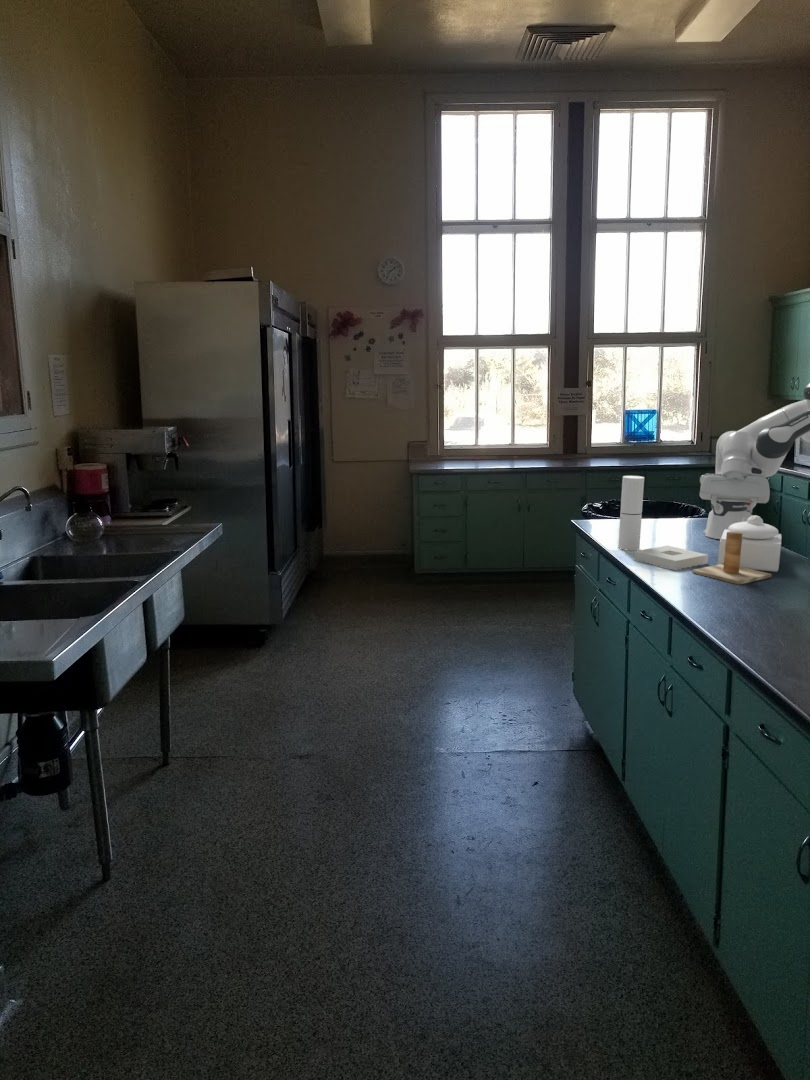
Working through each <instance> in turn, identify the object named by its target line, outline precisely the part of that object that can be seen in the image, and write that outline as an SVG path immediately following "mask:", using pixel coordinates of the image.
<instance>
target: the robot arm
mask: <svg viewBox="0 0 810 1080" xmlns="http://www.w3.org/2000/svg"><path fill="white" fill-rule="evenodd" d="M802 392H803V398H804V399H803V400H799V401H797V402H793V403H790V404H787V405H785V406H783V407H780V408H779V409H777V410H774V411H773V412H770V413H769V414H766V415H764V416H761V417H759V418H758V419H757V420H755V421H753V422H751V423H750V424H748V425H746V426H744V427H743V428H740V429H738V430H730V431H729V430H728V431H725V432H724V433H722V434H721V435H720V436H719V438H718V439H717V442H716V446H715V473H704V474H702V475H700V477H699V483H700V488H699V489H700V490H699V498H701V500H708V501H710V504H711V511H709V513H708V518H707V522H706V528H705V529H704V530H703V534H705V536H706V537H707V538H711V539H714V540H715V539H716V540H720V539H721V537H722V534H723V532H724V529H728V528H729V526H730V525H732V524H734V523H738V522H747V520H748V518H749V517H751V516H753V509H754V508H755V507H756V505H757V504H767V503H768V502H769V500H770V494H771V489H770V482H769V480H768V479H767V478H770V477H773V476H774V475H776V474H777V473H778V471H779V469H780V467H781V465H782V463H783V462H784V460H785V459H786V456H787V454H788V453H789V451H790V450H791V448H792V447H793V445H794V442H795V441H796V440H798V439H800V438H801V439H802V440H803V441H805V442H807V443H810V382H809V383H808V384H807V385H805V386H804V389H803V390H802Z"/></svg>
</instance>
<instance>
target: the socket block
mask: <svg viewBox="0 0 810 1080" xmlns="http://www.w3.org/2000/svg"><path fill="white" fill-rule="evenodd" d="M708 558H709V554H707V553H701V552H698V551H694V550H689V549H684V548H680V547H676V546H671V545H663V546H657V547H652V548H650V547H649V548H645V549H639V550H635V551H634V561H636V560H638V561H637V562H640V561H641V563H644V562H645V564H648V563H649V565H652V564H654V565H653V566H656V565H657V567H660V566H662V567H661V568H664V567H666V568H665V569H668V568H670V569H669V570H671V569H673V570H672V571H677V570H676V569H679V570H682V569H681V568H684V569H687V568H686V567H689V568H693V567H692V566H694V567H698V565H699V566H703V565H708V562H709V561H708Z"/></svg>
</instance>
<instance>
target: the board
mask: <svg viewBox="0 0 810 1080" xmlns="http://www.w3.org/2000/svg"><path fill="white" fill-rule="evenodd" d="M723 567H724V564H719V565H718V564H715V565H710V566H703V567H701V568H700V567H699V568H694V569H692V572H693V573H692V574H695V573H696V574H695V575H699V576H703V577H706V576H707V578H710V577H711V578H710V579H714V578H715V580H718V579H719V580H718V581H723V582H726V583H730V584H735V585H743V584H748V583H752V582H756V581H760V580H765V579H769V578H772V573H768V572H764V571H762V570H756V569H748V568H744V567H739V573H737V574H731V573H725V572H723Z"/></svg>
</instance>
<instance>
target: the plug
mask: <svg viewBox="0 0 810 1080" xmlns="http://www.w3.org/2000/svg"><path fill="white" fill-rule="evenodd" d="M741 544H742V533H739V532H727V535H726V546H725V557H724V567H723V572H725V573H731V574H737V573H739V565H740V555H741Z"/></svg>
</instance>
